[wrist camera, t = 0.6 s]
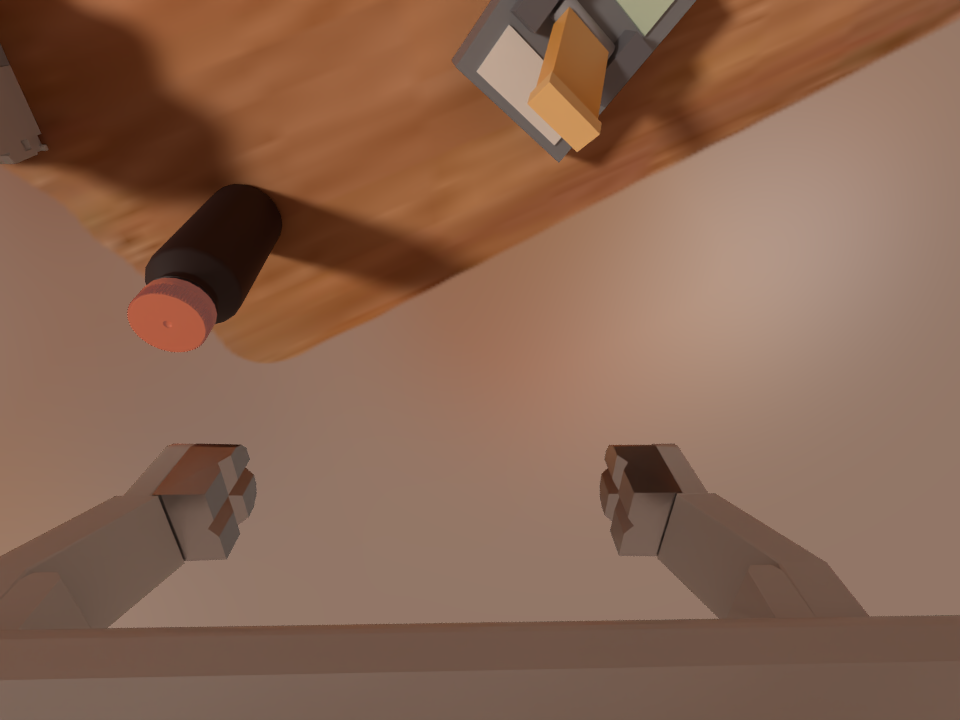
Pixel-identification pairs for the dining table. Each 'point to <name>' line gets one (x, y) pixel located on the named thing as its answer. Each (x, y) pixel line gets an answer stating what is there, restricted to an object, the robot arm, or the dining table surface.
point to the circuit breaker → (15, 119)
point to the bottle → (205, 269)
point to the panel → (523, 43)
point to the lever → (572, 75)
